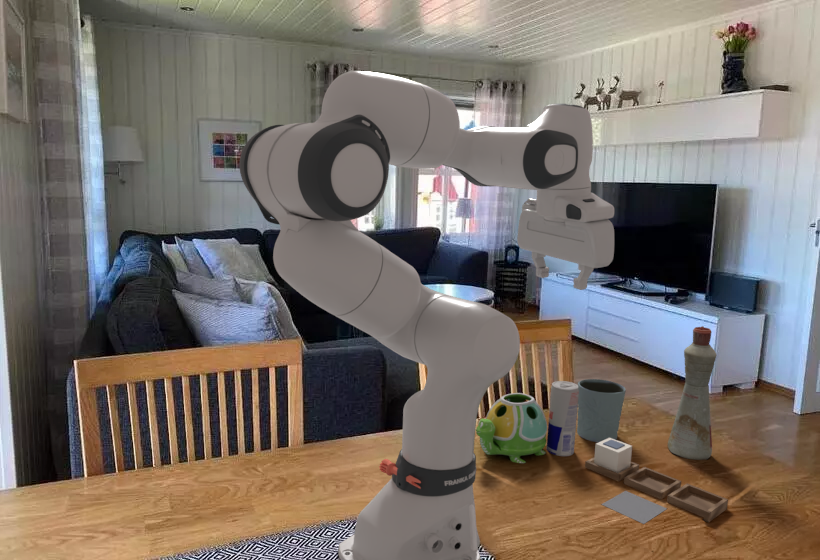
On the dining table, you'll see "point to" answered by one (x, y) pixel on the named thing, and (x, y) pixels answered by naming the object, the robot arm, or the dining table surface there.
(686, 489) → the tray
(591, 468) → the tray
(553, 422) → the beverage can
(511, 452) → the turtle holder
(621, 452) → the white cube
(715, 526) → the dining table surface
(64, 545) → the dining table surface
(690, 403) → the bottle
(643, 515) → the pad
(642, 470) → the tray
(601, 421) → the blue-grey plant pot
